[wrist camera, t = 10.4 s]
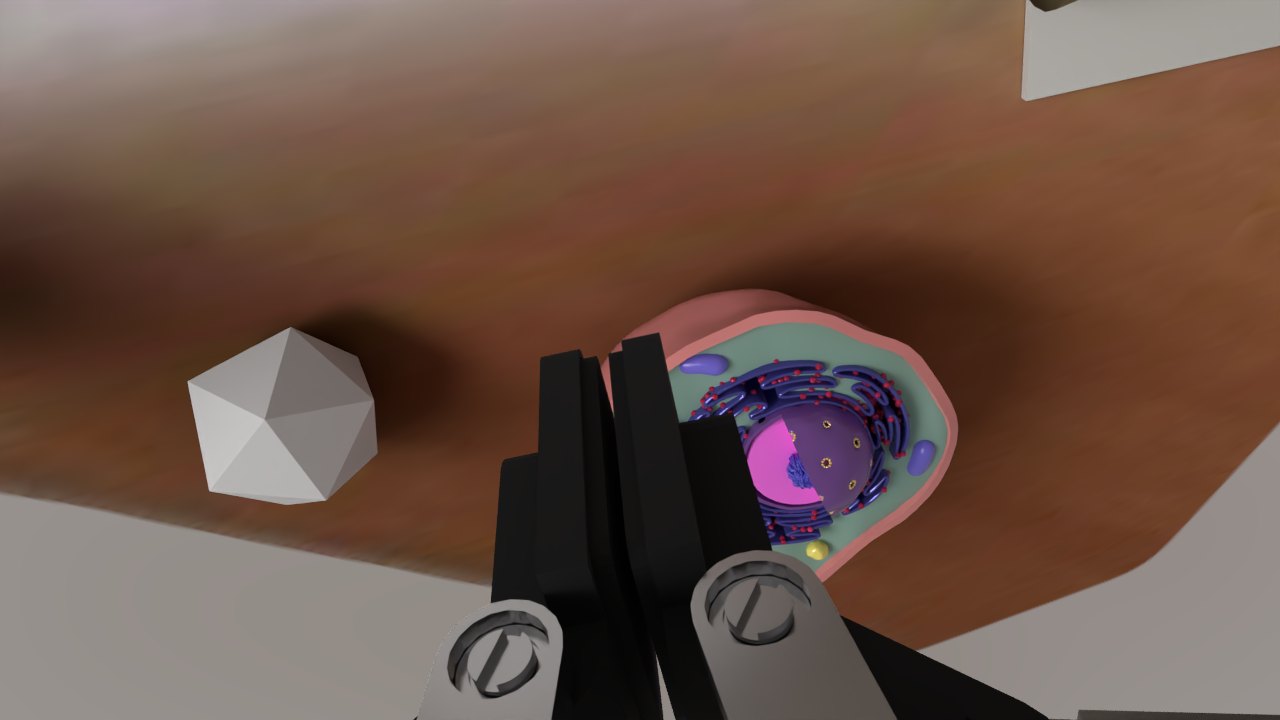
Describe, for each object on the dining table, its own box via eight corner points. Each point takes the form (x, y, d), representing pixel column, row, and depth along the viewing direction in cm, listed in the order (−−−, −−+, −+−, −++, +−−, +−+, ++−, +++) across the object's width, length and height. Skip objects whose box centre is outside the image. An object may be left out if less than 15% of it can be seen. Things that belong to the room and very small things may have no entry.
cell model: (479, 347, 46) (460, 495, 36) (837, 170, 42) (920, 284, 32) (628, 546, 54) (644, 706, 45) (935, 415, 51) (1022, 560, 41)
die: (283, 262, 43) (114, 391, 37) (425, 354, 41) (271, 502, 36) (301, 359, 49) (158, 481, 44) (423, 441, 48) (293, 578, 42)
